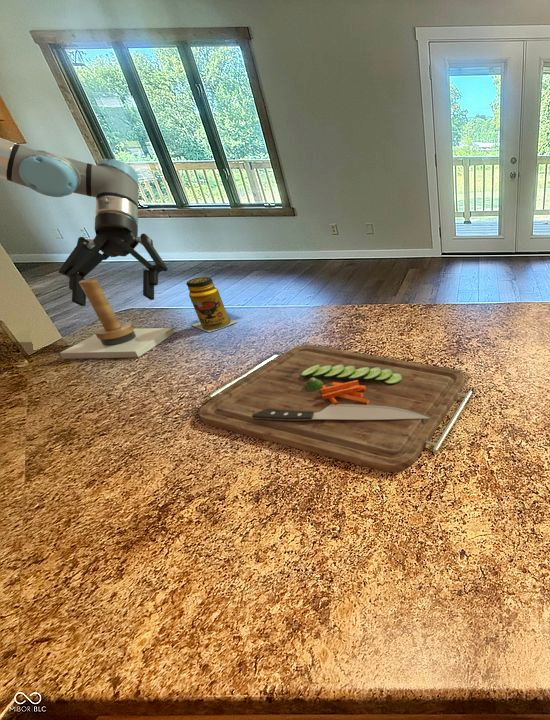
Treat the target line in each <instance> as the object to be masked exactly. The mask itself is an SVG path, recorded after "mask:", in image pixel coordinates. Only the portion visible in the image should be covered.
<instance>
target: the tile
mask: <svg viewBox="0 0 550 720" xmlns="http://www.w3.org/2000/svg"><path fill="white" fill-rule="evenodd" d="M133 331H134V333H135V335H136V337H135V338H134V339H132V340H130V341H128V342H125V343H122V344H118V345H110V346H107V345H103V344H102V342H101V341H100V339H98V338H97V336H96V334H95V333H94V334H93V335H91V336H89V337H87V338H85V339H84V340H82V341H79V342H78V343H76V344H74V345H71V346H70V347H68V348H66V349H65V350H64V349H63V351H60V352H59V355H60V356H61V357H62V359H63V360H66V359H67V360H69V359H70V360H71V359H116V358H117V359H119V358H120V359H121V358H140V357H141V356H143V355H144V354H146V353H147V352H148V351H150V350H152V349H153V348H155V347H156V346H158V345H159V344H161V343H163V342H164V341H165V340H167V339H169V338H170V337H171V336H173V335H174V334H175V331H174V328H173V327H140V328H134V330H133Z"/></svg>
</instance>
